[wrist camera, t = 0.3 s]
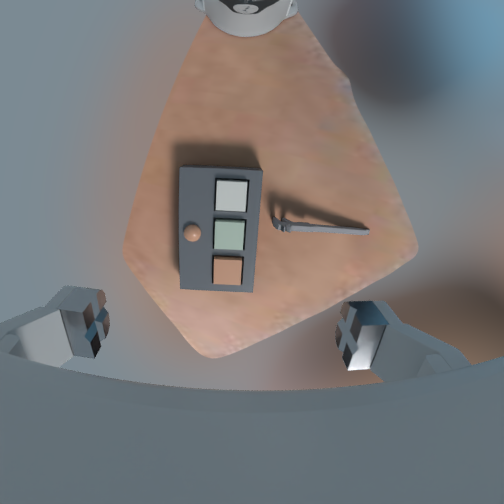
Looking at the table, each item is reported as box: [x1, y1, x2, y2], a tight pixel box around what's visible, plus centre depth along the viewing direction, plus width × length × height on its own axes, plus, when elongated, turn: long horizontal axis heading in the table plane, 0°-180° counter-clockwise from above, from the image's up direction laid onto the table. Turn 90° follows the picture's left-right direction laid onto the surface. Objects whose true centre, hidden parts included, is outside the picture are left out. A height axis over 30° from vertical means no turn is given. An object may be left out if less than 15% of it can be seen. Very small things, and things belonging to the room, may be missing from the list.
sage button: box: [214, 218, 245, 250], centre depth 54 cm, size 5×5×3 cm
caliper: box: [272, 217, 370, 235], centre depth 55 cm, size 20×1×6 cm, turn 83°
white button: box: [216, 178, 247, 212], centre depth 51 cm, size 5×5×3 cm
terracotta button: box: [214, 255, 242, 285], centre depth 57 cm, size 5×5×3 cm
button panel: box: [179, 165, 263, 292], centre depth 55 cm, size 23×14×5 cm, turn 176°
